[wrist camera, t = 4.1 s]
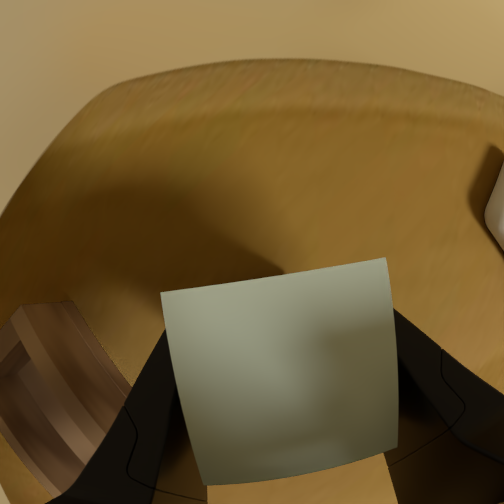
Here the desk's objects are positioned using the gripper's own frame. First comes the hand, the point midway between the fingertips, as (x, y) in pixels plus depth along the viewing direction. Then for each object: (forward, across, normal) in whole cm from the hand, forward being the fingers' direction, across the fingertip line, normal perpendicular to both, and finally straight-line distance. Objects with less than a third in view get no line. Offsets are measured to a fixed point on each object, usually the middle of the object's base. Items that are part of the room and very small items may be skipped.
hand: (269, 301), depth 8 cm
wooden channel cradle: (+1, +12, +9) cm, 15 cm away
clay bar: (+4, 0, +6) cm, 7 cm away
